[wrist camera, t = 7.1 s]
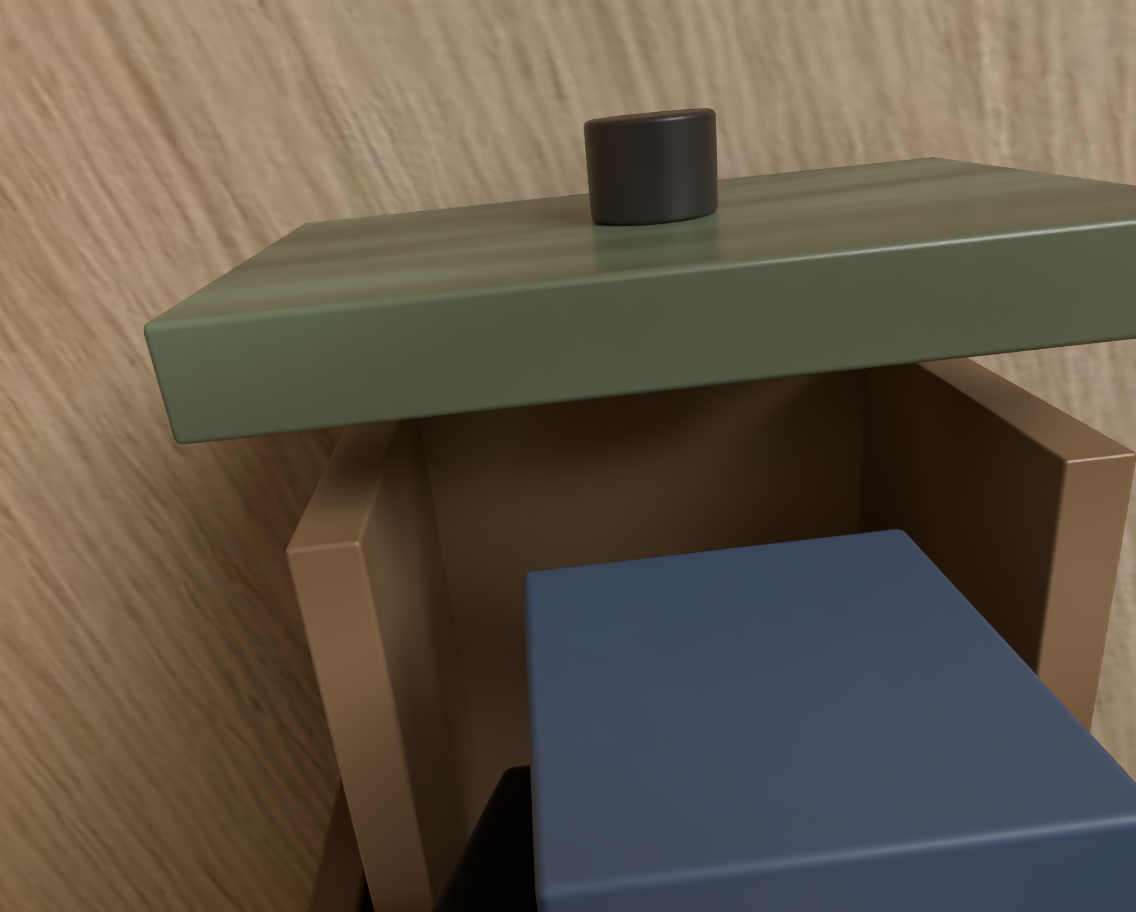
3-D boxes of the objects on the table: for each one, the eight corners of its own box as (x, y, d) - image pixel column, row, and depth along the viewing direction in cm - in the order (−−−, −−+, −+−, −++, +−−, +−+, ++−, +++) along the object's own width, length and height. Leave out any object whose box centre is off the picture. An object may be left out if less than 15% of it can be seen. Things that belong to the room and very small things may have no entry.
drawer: (284, 144, 14) (96, 185, 7) (941, 76, 14) (1300, 59, 8) (430, 849, 19) (394, 1212, 13) (895, 791, 20) (1079, 1120, 13)
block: (559, 857, 11) (589, 1264, 7) (521, 569, 9) (533, 895, 5) (885, 816, 11) (1086, 1196, 7) (903, 525, 9) (1173, 816, 5)
